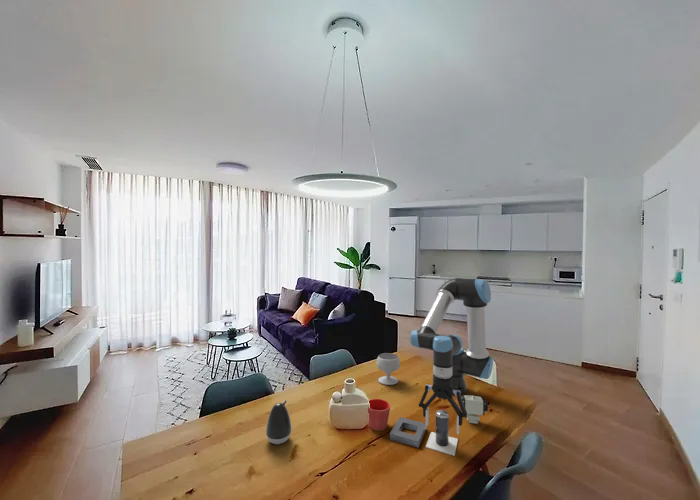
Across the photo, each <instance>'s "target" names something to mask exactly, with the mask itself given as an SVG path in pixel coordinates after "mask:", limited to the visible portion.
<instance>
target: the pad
mask: <svg viewBox="0 0 700 500" xmlns="http://www.w3.org/2000/svg"><path fill="white" fill-rule="evenodd" d="M427 439H428V440H427V441H426V445H425V448H426V449H429V450H433V451H436V452H440V453H443V454H446V455H450V456H454V457H455V455H456V452H457V451H456V450H457V445H458V441H459V439H458V438H457V437H453V436H449V444H448V446H439V445H438V444H437V443H436V432H433V431H431V432H430V434H429V437H428V438H427Z"/></svg>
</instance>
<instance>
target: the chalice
mask: <svg viewBox="0 0 700 500" xmlns="http://www.w3.org/2000/svg"><path fill="white" fill-rule="evenodd" d="M400 365H401V361H400V358H399V356H398V355H397V354H394V353H391V352H384V353H383V352H382V353H380V354H378V356H377V358H376V366H377V368H378V369H379V370H380V371H382V372H384V373H385V374H386V375H384V376H380V377H379V378H377V381H378V383H380V384H382V385H386V386H393V385H397V384H398V383H399V380H398V378H397V377H394V376H392V375H391V373H393V372H395V371H398V370H399V369H400Z"/></svg>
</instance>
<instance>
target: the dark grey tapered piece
mask: <svg viewBox="0 0 700 500" xmlns="http://www.w3.org/2000/svg"><path fill="white" fill-rule="evenodd" d="M286 404H287V400H286V399H284V400H283V401H282V402H278V403H274V405H273V406H272V408H271V409H270V412H269V414H268V418H267V423H266V428H265V429H266V430H265V431H266V432H265V434H266V437H267V440H268V441H269V442H270V443H271V444H273V445H281V443H282V444H284V443H286V441H288V439H290V436H291V433H292V422H291V417H290V414H289V410H288V409H287V407H286Z"/></svg>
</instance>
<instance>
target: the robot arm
mask: <svg viewBox="0 0 700 500" xmlns="http://www.w3.org/2000/svg"><path fill="white" fill-rule="evenodd" d="M491 291H492V290H491V288H490V284H489V282H488V281H487V280H485V279H481V278H480V279H479V278H463V277H455V278H450V279H449V280H447V281H445V282H444V283H443V284H442V285H441V286H439V288H438V289H437V291H436V292H435V293H436V294H435V297H436V298H435V299H434V301H433V303H432V305H431V307H430V309H429V310H428V313H427V315H426V317H425V318H424V320H423V322H422V325H421V326H420V328H419V329H414V330H412V331H411V333H410V336H409V341H410V345H412V347H416V348H419V349H422V350H423V349H425V350H429V351H432V353H433V354H432V358H433V359H432V362H433V363H432V373H433V375H432V385H431V384H429V383H426V384H425V386H424V392H423V394H422V397H421V399H420V400H419V403H418V407H419V408H422V411H423V412H422V415H423V417H424V418H425V423H426V427H428V425H429V423H430V421H429V420H430V417H429V415H430V412H429V411H430V409H429V406H430V405H431V404H432V402H433V401H434V400H435V399H436V398H438V399H439V400H440V399H441V400H445V401H446V400H447V401H448V403H450V405H451V407H452V409H453V411H454V412H455V414H457V415H456V435H459V434H460V427H461V426H462V425H463V419H464V418H466V419H467V415H468V414H467V411H466V408H465V406H464V403H463V400H462V395H464V394H466V393H467V390H468V386H467V383H466V380H465V377H464V376H465V375H467V376H472V377H475V378H479V379H485V380H488V379H489V378H491V374H492V371H493V367H494V358H493V356H490V352H489V351H488V350H487V344H486V343H487V341H486V322H485V321H486V320H485V319H486V318H485V308H486V307H487V306H488V304H489V303H491V298H492V296H491V295H492V294H491ZM455 300H458V301H463V303H462V304H463V306H464V307H465V308H466V321H467V322H466V323H467V340H468V342H467V343H468V348H467V349H466V351H465V349H464V348H463V344H464V343H463V340H462V338H461V337H460V336H459V335H457V334H449V335H447V334H445V335H444V334H440V333H437V332H438V330H439V329H440V326H441V325H442V323H443V319H444V318H445V316H446V315H447V312H448V310H449V307H450V305H451V304H453V303H454V302H455ZM431 390H432V392H433V394H432V395H431V396H430V398H428V399H427V401H426V402H425V400H426V398H427V395H428V392H429V391H431ZM453 396H455V397H456V400H457V402H458V404H457V402H456V401H455V400H454V398H453ZM424 402H425V403H424ZM459 405H460V407H459ZM460 408H461V409H460Z"/></svg>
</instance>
